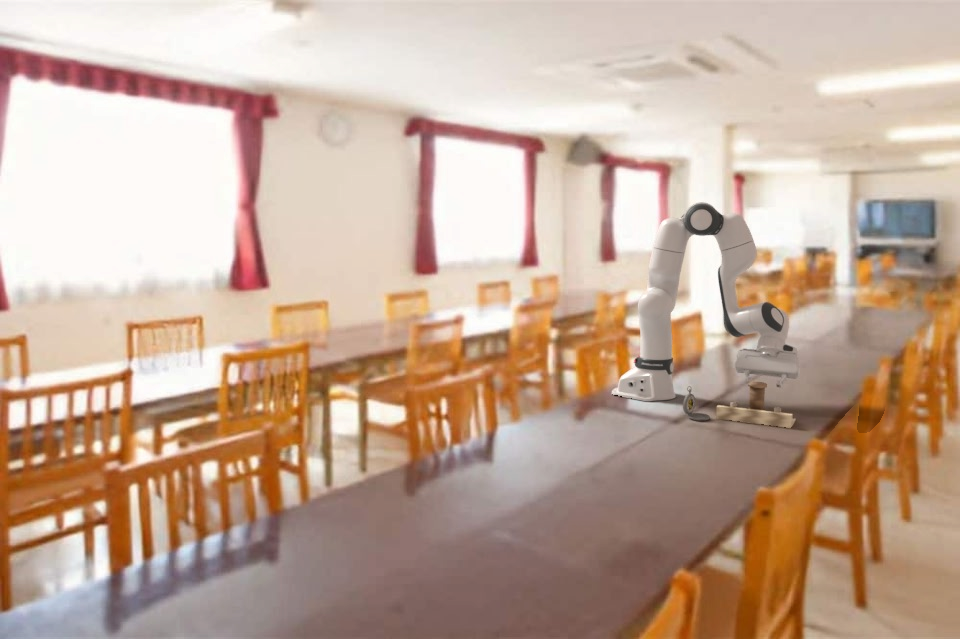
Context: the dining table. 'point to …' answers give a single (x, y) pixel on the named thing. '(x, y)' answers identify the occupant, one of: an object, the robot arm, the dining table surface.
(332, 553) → the dining table surface
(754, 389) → the flanged spool
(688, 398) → the pocket watch
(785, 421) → the peg rack
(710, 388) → the dining table surface
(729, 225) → the robot arm
